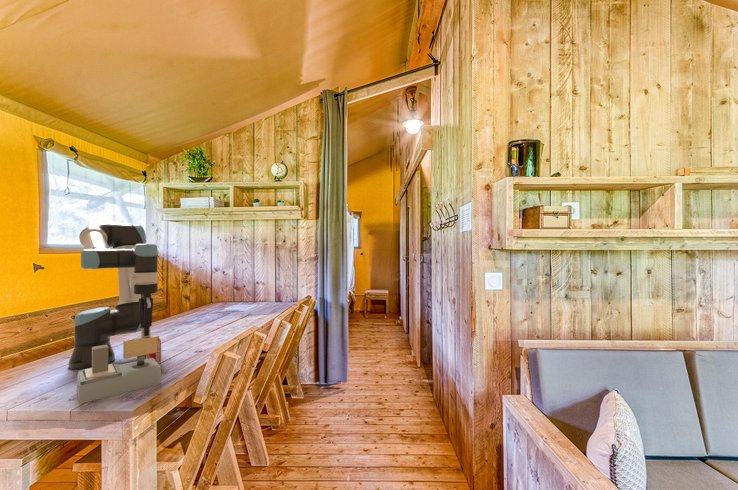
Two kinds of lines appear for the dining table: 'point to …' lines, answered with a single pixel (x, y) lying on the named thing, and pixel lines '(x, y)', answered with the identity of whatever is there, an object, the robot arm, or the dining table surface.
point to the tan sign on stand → (139, 348)
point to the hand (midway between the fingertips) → (145, 343)
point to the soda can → (156, 355)
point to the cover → (99, 363)
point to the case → (118, 380)
